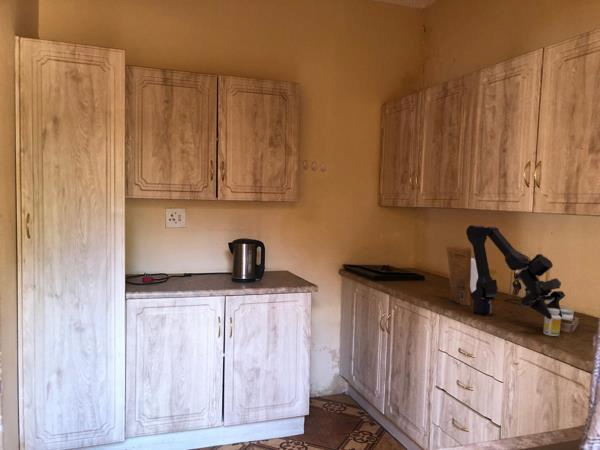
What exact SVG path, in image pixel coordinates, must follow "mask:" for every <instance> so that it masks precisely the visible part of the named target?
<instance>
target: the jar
mask: <svg viewBox="0 0 600 450" xmlns="http://www.w3.org/2000/svg"><path fill="white" fill-rule="evenodd" d="M560 310H561V313H562V317H561V319H566V320H572V321H573V317H574V312H575V311H574V310H573V309H570V308H569V309H568V308H561V307H560Z"/></svg>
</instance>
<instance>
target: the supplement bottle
mask: <svg viewBox="0 0 600 450" xmlns="http://www.w3.org/2000/svg"><path fill="white" fill-rule="evenodd" d="M547 309H548V311H549V312H550V314H551V316H552V318H551V319H549V318H547V317H545V316H544V318H543V334H544V335H545V336H549V337H559V336H560V333H561V331H560V323H561V317H560V316H559V315H558V314H559V311H560V310H559V309H555V308H548V307H547Z"/></svg>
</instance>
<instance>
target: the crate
mask: <svg viewBox="0 0 600 450" xmlns="http://www.w3.org/2000/svg"><path fill="white" fill-rule="evenodd" d="M578 326H579V316H578V317H576V316H573V321H572V320H566V319H561V323H560V332H564V333H571V334H573V333H574V332H575V330H577V327H578Z"/></svg>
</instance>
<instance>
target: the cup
mask: <svg viewBox="0 0 600 450" xmlns="http://www.w3.org/2000/svg"><path fill="white" fill-rule="evenodd" d="M487 261H488V259H487ZM488 262H489V261H488ZM477 280H478V273H477V267H476V261H475V258H471V279H470V292H471V293H473V292H474V291H475V290H476V282H477Z"/></svg>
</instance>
